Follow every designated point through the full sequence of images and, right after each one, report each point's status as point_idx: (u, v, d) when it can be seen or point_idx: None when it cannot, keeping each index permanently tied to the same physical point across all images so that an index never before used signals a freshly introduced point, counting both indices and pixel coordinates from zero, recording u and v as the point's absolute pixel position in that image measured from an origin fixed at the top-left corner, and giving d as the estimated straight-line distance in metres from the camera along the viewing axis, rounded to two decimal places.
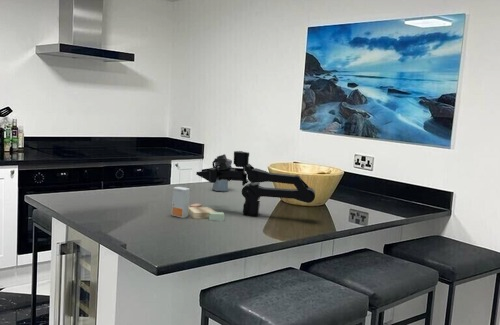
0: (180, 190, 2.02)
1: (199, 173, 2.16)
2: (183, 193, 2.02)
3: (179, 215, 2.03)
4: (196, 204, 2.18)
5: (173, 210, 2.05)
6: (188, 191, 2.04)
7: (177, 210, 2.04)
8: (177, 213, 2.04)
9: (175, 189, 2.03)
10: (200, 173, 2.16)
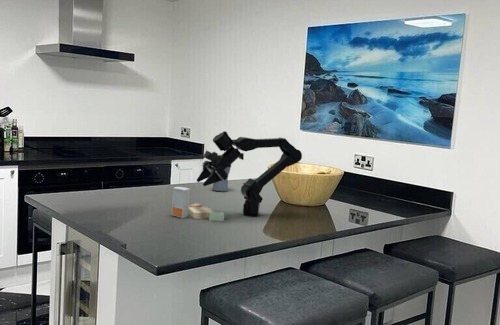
0: (180, 190, 2.02)
1: (206, 182, 2.03)
2: (183, 193, 2.02)
3: (179, 215, 2.03)
4: (196, 204, 2.18)
5: (173, 210, 2.05)
6: (188, 191, 2.04)
7: (177, 210, 2.04)
8: (177, 213, 2.04)
9: (175, 189, 2.03)
10: (207, 182, 2.03)
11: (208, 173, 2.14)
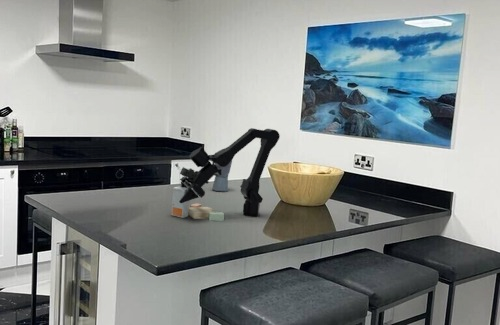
0: (180, 190, 2.02)
1: (183, 200, 2.01)
2: (183, 193, 2.02)
3: (179, 215, 2.03)
4: (196, 204, 2.18)
5: (173, 210, 2.05)
6: None
7: (177, 210, 2.04)
8: (177, 213, 2.04)
9: (175, 189, 2.03)
10: (183, 199, 2.01)
11: None
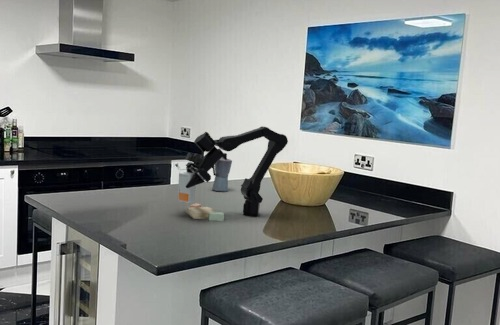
0: (186, 175, 2.02)
1: (189, 185, 2.01)
2: (189, 178, 2.02)
3: (185, 200, 2.04)
4: (196, 204, 2.18)
5: (179, 195, 2.05)
6: None
7: (183, 195, 2.04)
8: (183, 198, 2.04)
9: (181, 174, 2.03)
10: (189, 184, 2.01)
11: None
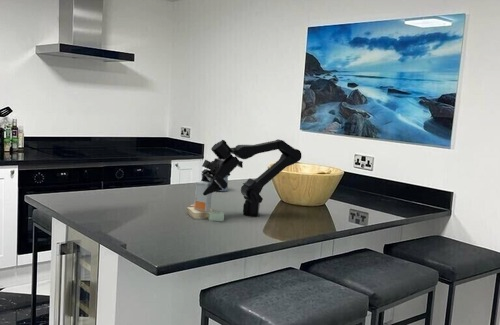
0: (203, 184, 2.06)
1: (206, 192, 2.03)
2: (206, 187, 2.05)
3: (202, 209, 2.07)
4: None
5: (196, 204, 2.08)
6: None
7: (200, 204, 2.07)
8: (200, 206, 2.07)
9: (198, 183, 2.07)
10: (206, 191, 2.04)
11: None
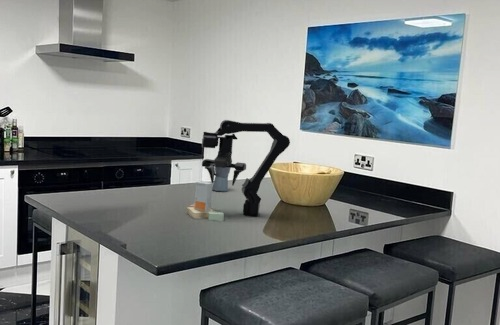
0: (203, 184, 2.06)
1: (234, 182, 2.14)
2: (206, 187, 2.05)
3: (202, 209, 2.07)
4: None
5: (196, 204, 2.08)
6: (211, 185, 2.07)
7: (200, 204, 2.07)
8: (200, 206, 2.07)
9: (198, 183, 2.07)
10: None
11: (213, 169, 2.16)
